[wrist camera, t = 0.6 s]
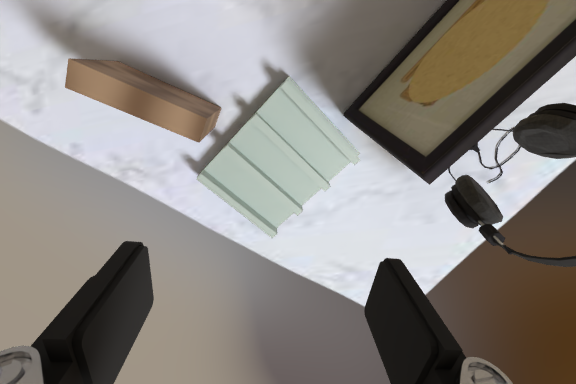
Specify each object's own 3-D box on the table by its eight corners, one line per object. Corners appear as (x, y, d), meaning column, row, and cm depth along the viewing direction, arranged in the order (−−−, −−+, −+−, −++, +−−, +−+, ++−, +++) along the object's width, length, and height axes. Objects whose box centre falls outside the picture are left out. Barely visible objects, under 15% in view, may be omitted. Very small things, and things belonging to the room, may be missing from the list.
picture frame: (505, -67, 27) (752, -172, 14) (537, 6, 30) (754, -22, 17) (341, 113, 33) (404, 158, 20) (384, 155, 37) (460, 215, 24)
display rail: (199, 174, 36) (193, 181, 33) (288, 76, 31) (290, 76, 29) (269, 230, 40) (269, 240, 37) (357, 150, 35) (363, 157, 33)
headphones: (452, 217, 41) (596, 336, 23) (404, 176, 37) (529, 277, 19) (540, 140, 36) (808, 212, 18) (495, 86, 33) (768, 107, 15)
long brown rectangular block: (113, 84, 31) (64, 89, 23) (118, 61, 30) (68, 58, 22) (214, 128, 33) (198, 144, 26) (221, 107, 32) (207, 118, 25)
